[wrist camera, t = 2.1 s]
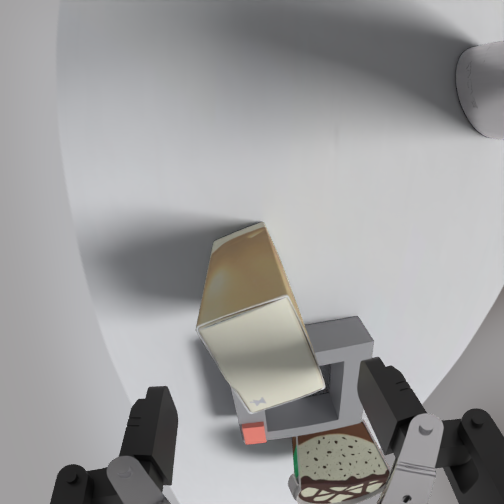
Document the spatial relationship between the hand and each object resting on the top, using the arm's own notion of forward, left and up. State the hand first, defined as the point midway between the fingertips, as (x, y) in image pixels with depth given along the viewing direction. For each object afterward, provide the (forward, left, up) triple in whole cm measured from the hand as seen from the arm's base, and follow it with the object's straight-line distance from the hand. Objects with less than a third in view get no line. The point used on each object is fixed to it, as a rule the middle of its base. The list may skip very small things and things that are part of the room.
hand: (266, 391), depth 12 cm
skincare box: (0, 0, -14) cm, 14 cm away
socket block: (-3, +12, -14) cm, 19 cm away
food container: (-6, +24, -14) cm, 29 cm away
